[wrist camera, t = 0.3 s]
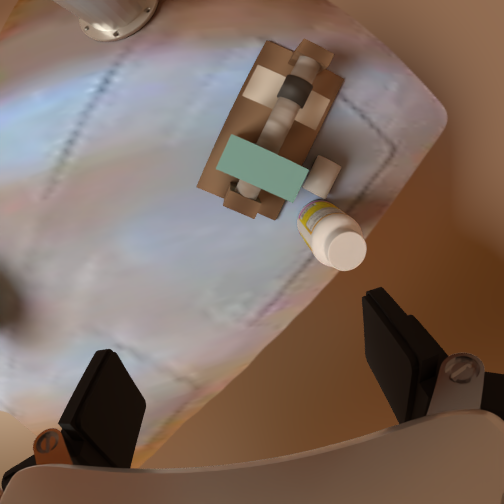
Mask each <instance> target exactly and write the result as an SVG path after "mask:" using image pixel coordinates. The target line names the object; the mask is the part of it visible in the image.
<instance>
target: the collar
mask: <svg viewBox="0 0 504 504" xmlns="http://www.w3.org/2000/svg"><path fill="white" fill-rule="evenodd" d="M216 169H217V170H219V171H222V172H224V173H227V174H229V175H231V176H234V177H236V178H238V179H240V180H243V181H245V182H247V183H250V184H252V185H254V186H256V187H259V188H261V189H263V190H265V191H268V192H270V193H272V194H274V195H277V196H279V197H281V198H283V199H285V200H287V201H290V202H292V203H293V202H294V200H295V198H296V196H297V194H298V192H299V190H300V188H301V186H302V184H303V182H304V180H305V178H306V175H307V173H308V171H309V170H308V169H306V168H304V167H302V166H300V165H298V164H296V163H294V162H292V161H290V160H288V159H286V158H284V157H281V156H279V155H277V154H275V153H273V152H271V151H269V150H266V149H264V148H262V147H260V146H258V145H255V144H253V143H251V142H249V141H246V140H244V139H242V138H240V137H237V136H235V135H233V134H231V136H230V138H229V140H228V142H227V145H226V147H225V149H224V151H223V153H222V156H221V158H220V160H219V162H218V164H217V167H216Z"/></svg>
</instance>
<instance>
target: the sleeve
mask: <svg viewBox="0 0 504 504" xmlns="http://www.w3.org/2000/svg"><path fill="white" fill-rule="evenodd" d="M340 169H341V166H339V165H338V164H336V163H334V162H332V161H331V160H329V159H327V158H324V157H322V156H320V155H318V156H317V158H316V160H315V162H314V164H313V166H312V169H311V171H310V173H309V175H308V177H307V179H306V181H305V183H304V185H303V188H304V189H306V190H308V191H310V192H312V193H313V194H315V195H317V196H319V197H321V198H324V199H326V197H327V195H328V193H329V191H330V189H331V187H332V185H333V183H334V181H335V179H336V177H337V175H338V173H339V171H340Z"/></svg>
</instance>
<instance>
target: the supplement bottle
mask: <svg viewBox="0 0 504 504" xmlns="http://www.w3.org/2000/svg"><path fill="white" fill-rule="evenodd" d="M297 227H298V231H299V233H300V235H301V236H302V238H303V239H304V241H305V242H306V244H307V245H308V247H309V248H310V249H311V251H312V252H313V254H314V256H315V257H316V258H317V259H318V260H319V261H320V262H321V263H322V264H324V265H327V266H330V267H334V268H336V269H338V270H341V271H348V270H351V269H354V268H356V267H357V266H358V265H359V264H360V263H361V262H362V261H363V259H364V257H365V255H366V243H365V240H364V239H363V234H362V230H361V228H360V226H359V224H358V223H357V222H356V221H355V220H354V219H353V218H351V217H350V216H349V215H347V214H346V213H344V212H343V211H342V210H340V209H339V208H337V207H336V206H335V205H333V204H332V203H330V202H328V201H324V200H316V201H312V202H310V203H308V204H307V205H305V206H304V207H303V209H302V210H301V211H300V213H299V216H298V219H297Z"/></svg>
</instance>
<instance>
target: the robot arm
mask: <svg viewBox="0 0 504 504" xmlns="http://www.w3.org/2000/svg"><path fill="white" fill-rule="evenodd" d="M53 1H54V2H56V3H57V4H59V5H61V6H62V7H64V8H65V9H67V10H68V11H70V12H72V13H73V14H75V15H76V16H78V17H79V23H80V27H81V29H82V31H83V32H84V33H85V34H86V35H87V36H88V37H90V38H92V39H94V40H96V41H101V42H111V41H117V40H120V39H123V38H126V37H128V36H130V35H132V34H133V33H135V32H136V31H138V30H139V29H140V28H142V27H143V26H144V25H145V24H146V23H147V22H148V21H149V19H150V18H151V17H152V15H153V14H154V12H155V10H156V8H157V5H158V1H159V0H53ZM148 11H150V12H148ZM118 34H119V35H118ZM117 35H118V36H117ZM362 306H363V320H364V337H365V355H366V359H367V362H368V364H369V366H370V368H371V369H372V372H373V373H374V375H375V377H376V379H377V381H378V383H379V385H380V387H381V389H382V391H383V392H384V394H385V396H386V398H387V400H388V402H389V404H390V406H391V408H392V410H393V412H394V414H395V416H396V418H397V420H398V422H399V425H396V426H392V427H389V428H386V429H383V430H380V431H377V432H374V433H371V434H368V435H365V436H362V437H358V438H355V439H352V440H348V441H345V442H341V443H337V444H334V445H330V446H326V447H322V448H318V449H315V450H310V451H305V452H301V453H297V454H292V455H287V456H281V457H276V458H270V459H265V460H259V461H252V462H245V463H237V464H230V465H219V466H209V467H195V468H176V469H130V466H131V462H132V458H133V454H134V450H135V446H136V443H137V439H138V435H139V431H140V427H141V424H142V420H143V416H144V413H145V409H146V402H145V399H144V397H143V396H142V394H141V393H140V391H139V390H138V388H137V386H136V385H135V383H134V382H133V380H132V378H131V377H130V375H129V373H128V372H127V370H126V368H125V367H124V365H123V363H122V362H121V360H120V358H119V356H118V355H117V353H116V352H113V351H112V350H111V349H105V350H98V351H96V353H95V354H94V356H93V358H92V360H91V361H90V363H89V365H88V367H87V369H86V370H85V372H84V374H83V376H82V378H81V380H80V381H79V383H78V385H77V387H76V389H75V391H74V393H73V395H72V397H71V399H70V400H69V402H68V404H67V406H66V408H65V410H64V412H63V414H62V416H61V418H60V420H59V422H58V424H59V425H60V426H61V427H62V430H61V432H60V431H59V430H58V429H55V428H50V429H47V430H44V431H43V432H41V433H40V434H39V435H38V436H37V438H36V439H35V441H34V444H33V450H34V455H32V456H31V457H29V458H28V459H26V460H24V461H23V462H21V463H20V464H18V465H16V466H14V467H13V468H11V469H10V470H8V471H7V472H5V474H4V476H3V479H2V489H1V488H0V504H504V374H497V373H490V372H485V370H484V365H483V363H482V361H481V360H480V359H479V358H478V357H476V356H474V355H472V354H469V353H456V354H452V355H450V356H448V355H447V354H446V353H445V352H444V350H443V349H442V348H441V347H440V345H439V344H438V343H437V342H436V341H435V340H434V338H433V337H432V336H431V335H430V334H429V333H428V332H427V330H426V329H425V328H424V327H423V326H422V325H421V323H420V322H419V321H418V320H417V319H416V318H415V317H414V316H413V315H408V316H407V314H406V313H405V312H404V311H403V310H402V309H401V308H400V306H399V305H398V304H397V303H396V302H395V301H394V300H393V298H392V297H391V296H390V295H389V294H388V293H387V292H386V291H385V290H384V289H383V288H382V287H379V288H376V289H373V290H370V291H367V292H366V296H364V297H362Z"/></svg>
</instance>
